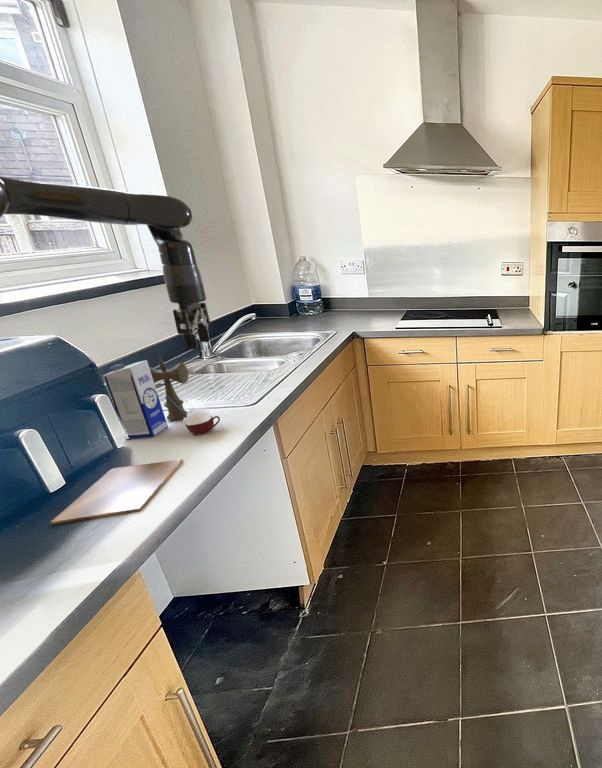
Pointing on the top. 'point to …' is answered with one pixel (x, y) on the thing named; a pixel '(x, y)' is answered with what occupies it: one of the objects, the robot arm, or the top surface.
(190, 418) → the cocoa
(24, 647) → the top surface
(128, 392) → the milk carton
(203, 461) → the top surface
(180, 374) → the kendama
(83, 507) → the copper plate
